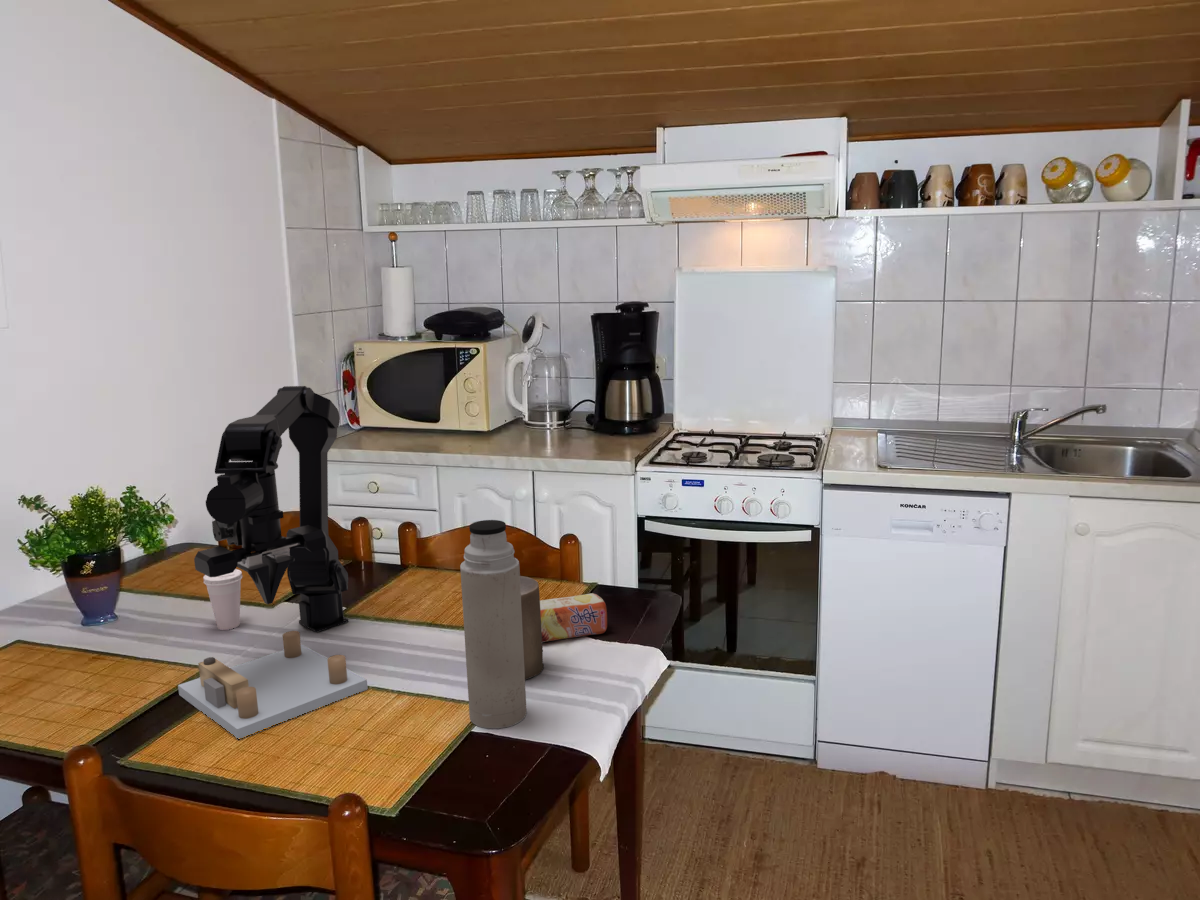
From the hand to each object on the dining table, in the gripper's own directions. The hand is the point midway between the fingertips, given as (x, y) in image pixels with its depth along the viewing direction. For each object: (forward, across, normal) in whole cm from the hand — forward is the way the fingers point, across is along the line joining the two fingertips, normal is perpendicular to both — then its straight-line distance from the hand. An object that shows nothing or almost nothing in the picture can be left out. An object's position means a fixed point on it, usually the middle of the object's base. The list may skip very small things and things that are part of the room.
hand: (268, 603), depth 144 cm
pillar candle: (+12, -26, +26) cm, 39 cm away
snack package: (+12, -38, +20) cm, 45 cm away
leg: (+10, +9, +3) cm, 14 cm away
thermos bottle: (+12, -15, +36) cm, 41 cm away
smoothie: (+12, -4, -26) cm, 29 cm away
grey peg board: (+12, +3, +5) cm, 13 cm away
